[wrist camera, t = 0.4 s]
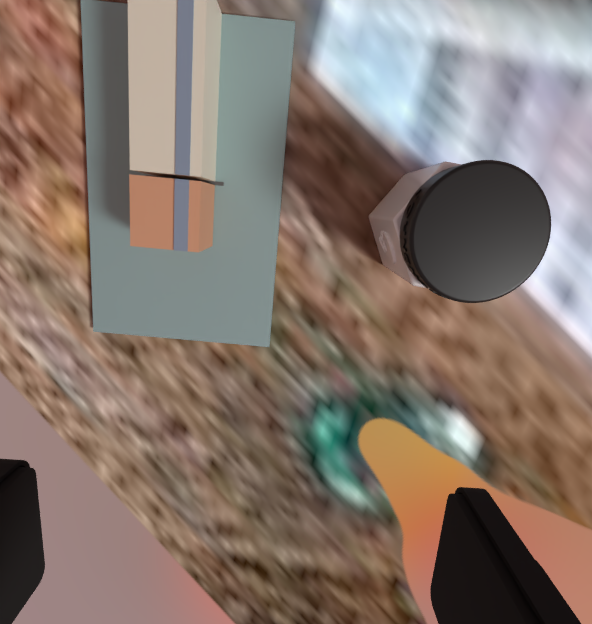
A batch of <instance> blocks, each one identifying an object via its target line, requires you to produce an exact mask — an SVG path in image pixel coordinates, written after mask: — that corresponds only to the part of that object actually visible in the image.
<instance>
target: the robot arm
mask: <svg viewBox="0 0 592 624" xmlns="http://www.w3.org/2000/svg"><path fill="white" fill-rule="evenodd" d="M44 569H45V561H44V551H43V541H42V531H41V520H40V510H39V500H38V489H37V479H36V472H35V470H34V469H33V468H30V466H29V464H28V462H27V461H24V460H10V459H0V624H12V622H13V621H14V620H15V618H16V617H17V615H18V614H19V612H20V611H21V609H22V608H23V607H24V605H25V604H26V602H27V601H28V599H29V598H30V596H31V595H32V594H33V592H34V591H35V589H36V588H37V586H38V585H39V583H40V581H41V579H42V576H43V573H44ZM431 601H432V606H433V609H434V612H435V615H436V618H437V621H438V623H439V624H581V623H580V621H579V620H578V618H577V617H576V615H575V614H574V613H573V611H572V610H571V608H570V607H569V605H568V604H567V603H566V601H565V600H564V599H563V597H562V595H561V594H560V592H559V591H558V590H557V588H556V587H555V585H554V584H553V582H552V581H551V580H550V578H549V577H548V575H547V574H546V572H545V571H544V570H543V568H542V567H541V566H540V564H539V563H538V562H537V561H536V560H535V559H534V558H533V557H532V555H531V554H530V552H529V551H528V549H527V548H526V546H525V545H524V543H523V542H522V541H521V539H520V538H519V536H518V535H517V533H516V532H515V531H514V529H513V528H512V526H511V525H510V523H509V522H508V520H507V519H506V518H505V516H504V515H503V513H502V512H501V510H500V509H499V507H498V506H497V504H496V503H495V502H494V500H493V499H492V497H491V496H490V494H489V493H488V492H487V491H486V490H485V489H479V488H463V487H459V488H457V490H456V491H455V494H449V496H448V499H447V504H446V510H445V515H444V520H443V525H442V530H441V536H440V541H439V547H438V551H437V557H436V562H435V567H434V572H433V578H432V583H431Z"/></svg>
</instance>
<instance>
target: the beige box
mask: <svg viewBox="0 0 592 624" xmlns="http://www.w3.org/2000/svg"><path fill="white" fill-rule="evenodd" d="M221 23H222V13H221V10H220V8H219V5H218V2H217V0H128V69H129V147H130V170H132V171H137V172H141V173H146V174H150V175H155V176H165V177H175V178H186V179H196V180H206V181H215V177H216V151H217V125H218V100H219V74H220V49H221Z"/></svg>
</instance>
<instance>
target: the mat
mask: <svg viewBox="0 0 592 624" xmlns="http://www.w3.org/2000/svg"><path fill="white" fill-rule="evenodd" d="M81 23H82V49H83V75H84V101H85V127H86V153H87V179H88V205H89V231H90V256H91V282H92V308H93V331H94V332H105V333H116V334H128V335H139V336H150V337H162V338H173V339H185V340H196V341H207V342H219V343H230V344H241V345H253V346H264V347H269V345H270V332H271V320H272V307H273V295H274V282H275V270H276V257H277V245H278V232H279V220H280V207H281V195H282V182H283V170H284V157H285V145H286V132H287V119H288V107H289V94H290V82H291V69H292V57H293V44H294V32H295V21H286V20H277V19H267V18H258V17H248V16H239V15H229V14H222V23H221V49H220V74H219V100H218V125H217V151H216V177H215V181H206V180H196V179H186V178H175V177H165V176H155V175H150V174H146V173H141V172H137V171H132V170H130V147H129V69H128V4H125V3H116V2H106V1H97V0H81ZM129 174H131V175H142V176H152V177H162V178H173V179H184V180H193V181H202V182H205V183H209V184H213V185H215V196H214V222H213V246H212V247H209V248H207V249H205V250H203V251H201V252H189V251H188V252H186V251H176V250H167V249H156V248H145V247H135V246H130V192H129Z"/></svg>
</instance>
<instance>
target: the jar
mask: <svg viewBox="0 0 592 624" xmlns="http://www.w3.org/2000/svg"><path fill="white" fill-rule="evenodd" d="M369 221H370V224H371V227H372V231H373V234H374V237H375V240H376V244H377V247H378V250H379V253H380V257H381V260H382V263H383V265H384V266H385V267H386V268H388V269H389V270H391V271H392V272H394V273H395V274H397V275H398V276H400V277H401V278H403V279H404V280H406V281H407V282H409V283H410V284H412V285H413V286H418V287H424V288H427V289H428V288H430V289H429V290H430V291H432V292H434V293H435V294H437V295H439V296H442V297H444V298H447V299H451V300H454V301H458V302H465V303H479V302H486V301H490V300H494V299H497V298H500V297H502V296H504V295H506V294H508V293H510V292H511V291H513V290H515V289H516V288H517V287H519V286H520V285H521V284H522V283H524V282H525V281H526V280H527V279H528V278H529V277H530V276H531V274H532V273H533V272H534V271H535V269H536V268H537V267H538V265H539V263H540V262H541V260H542V258H543V256H544V254H545V251H546V249H547V246H548V242H549V238H550V232H551V215H550V209H549V205H548V202H547V199H546V196H545V194H544V192H543V191H542V189H541V187H540V186H539V185H538V183H537V182H536V181H535V180H534V179H533V178H532V177H531V176H530V175H529V174H528V173H526V172H525V171H524V170H522V169H520V168H519V167H516V166H514V165H512V164H509V163H506V162H501V161H495V160H481V161H474V162H470V163H466V164H462V165H461V164H456V163H451V162H442V163H439V164H436V165H432V166H429V167H426V168H423V169H420V170H416V171H413V172H410V173H407V174H404V175H403V177H402V178H401V179H400V180H399V181H398V182H397V184H396V185H395V186H394V187H393V188H392V189H391V190H390V192H389V193H388V194H387V195H386V196H385V197H384V199H383V200H382V201H381V202H380V203H379V204H378V205H377V207H376V208H375V209H374V210H373V211H372V212H371V213H370V215H369Z"/></svg>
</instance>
